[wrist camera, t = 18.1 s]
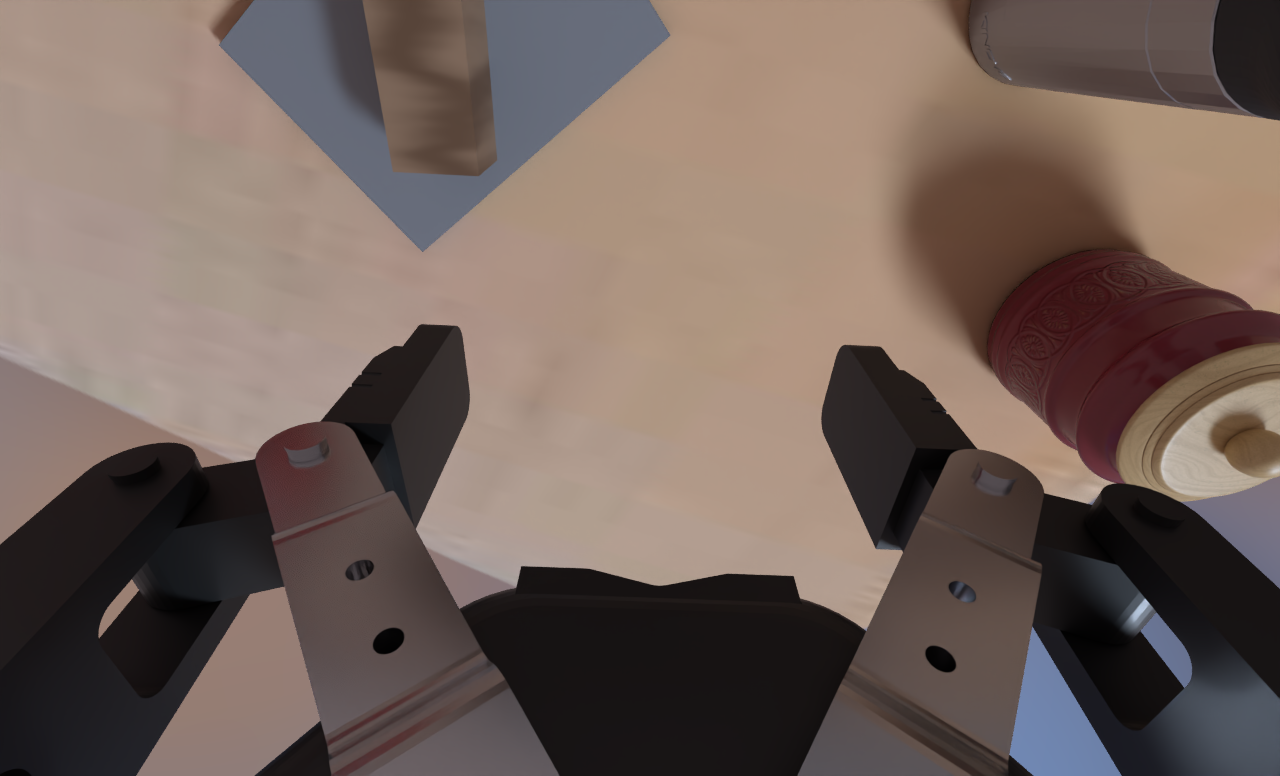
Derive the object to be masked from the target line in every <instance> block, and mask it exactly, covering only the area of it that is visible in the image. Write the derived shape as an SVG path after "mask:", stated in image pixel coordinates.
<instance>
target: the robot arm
mask: <svg viewBox="0 0 1280 776" xmlns="http://www.w3.org/2000/svg"><path fill="white" fill-rule="evenodd" d="M969 38H970V42H971V46H972V50H973V53H974V55H975V57H976V59H977V61H978V63H979V65H980V66H981V67H982V68H983V69H984V70H985V71H986V72H987V73H988V74H989V75H990V76H991V77H993V78H995V79H997V80H998V81H1000V82H1002V83H1006V84H1011V85H1015V86H1022V87H1029V88H1037V89H1045V90H1050V91H1057V92H1065V93H1073V94H1080V95H1088V96H1096V97H1103V98H1111V99H1119V100H1127V101H1134V102H1142V103H1150V104H1157V105H1165V106H1173V107H1181V108H1188V109H1197V110H1206V111H1214V112H1221V113H1229V114H1237V115H1244V116H1252V117H1259V118H1267V119H1273V120H1280V0H972V1H971V7H970V13H969ZM469 402H470V391H469V383H468V375H467V368H466V360H465V352H464V345H463V338H462V333H461V330H460V328H459V327H458V326H448V325H426V324H421V325H419V326H418V327H417V329H416V330H415V331H414V333H413V334H412V335H411V336H410V338H409V339H408V340H407V342H406V343H405V344H404V346H393V347H392V348H390V349H388V350H386V351H385V352H383V353H381V354H379V355H378V356H376V357H374V358H373V359H372V360H371V362H370V363H369V364H368V365H367V366H366V368H365V369H364V370H363V371H362V375H359V376H358V377H357V378H356V380H355V381H354V382H353V383H352V387H349V388H348V389H347V390H346V391H345V393H344V394H343V395H342V396H341V397H340V399H339V400H338V401H337V402H336V403H335V405H334V406H333V407H332V408H331V409H330V411H329V412H328V413H327V414H326V415H325V417H324V418H323V419H322V420H321V421H320V422H313V423H306V424H302V425H298V426H295V427H292V428H289V429H287V430H285V431H282V432H281V433H279V434H277V435H275V436H273V437H272V438H271V439H269V440H268V441H267V442H265V443H264V444H263V445H262V447H261V448H260V449H259V450H258V452H257V454H256V458H255V459H254V460H248V461H242V462H236V463H229V464H223V465H217V466H210V467H204V468H202V467H201V465H200V463H199V461H198V459H197V457H196V454H195V452H194V451H193V450H192V449H191V448H190V447H188V446H185V445H183V444H178V443H156V444H149V445H144V446H140V447H136V448H132V449H129V450H126V451H123V452H121V453H118V454H116V455H113V456H111V457H109V458H107V459H105V460H103V461H101V462H100V463H98V464H96V465H95V466H93V467H92V468H90V469H89V470H88V471H86V472H85V473H84V474H83V475H82V476H80V477H79V478H78V479H77V480H76V481H75V482H73V483H72V484H71V485H70V486H69V487H67V488H66V489H65V490H64V491H63V492H62V493H61V494H59V495H58V496H57V497H56V498H55V499H53V500H52V501H51V502H50V503H49V504H48V505H46V506H45V507H44V508H43V509H42V510H40V511H39V512H38V513H37V514H36V515H35V516H33V517H32V518H31V519H30V520H29V521H27V522H26V523H25V524H24V525H23V526H22V527H20V528H19V529H18V530H17V531H16V532H15V533H14V534H12V535H11V536H10V537H9V538H7V539H6V540H5V541H4V542H3V543H2V544H1V545H0V776H136V775H137V773H138V772H139V770H140V769H141V767H142V765H143V764H144V762H145V761H146V759H147V757H148V756H149V754H150V753H151V751H152V749H153V748H154V746H155V745H156V743H157V741H158V740H159V738H160V737H161V735H162V733H163V732H164V730H165V729H166V727H167V725H168V724H169V722H170V721H171V719H172V718H173V716H174V714H175V713H176V711H177V709H178V708H179V706H180V705H181V703H182V701H183V700H184V698H185V697H186V695H187V694H188V692H189V690H190V689H191V687H192V686H193V684H194V682H195V681H196V679H197V677H198V676H199V674H200V673H201V671H202V670H203V668H204V666H205V665H206V663H207V662H208V660H209V658H210V657H211V655H212V654H213V652H214V651H215V649H216V647H217V645H218V644H219V643H220V641H221V639H222V638H223V636H224V635H225V633H226V631H227V630H228V628H229V627H230V625H231V623H232V622H233V620H234V619H235V617H236V616H237V614H238V612H239V611H240V609H241V607H242V606H243V604H244V603H245V601H246V600H247V598H248V596H249V595H250V594H252V593H257V592H261V591H266V590H270V589H274V588H279V587H284V586H285V590H286V594H287V597H288V601H289V605H290V608H291V612H292V616H293V619H294V623H295V627H296V631H297V635H298V638H299V642H300V646H301V649H302V653H303V657H304V660H305V664H306V668H307V672H308V675H309V679H310V683H311V686H312V690H313V694H314V697H315V701H316V705H317V709H318V713H319V716H320V720H321V721H320V722H318V723H317V724H316V725H315V726H314V727H312V728H311V729H310V730H309V731H308V732H306V733H305V734H304V735H303V736H302V737H300V738H299V739H298V740H297V741H296V742H295V743H293V744H292V745H291V746H290V747H288V748H287V749H286V750H285V751H284V752H282V753H281V754H280V755H279V756H278V757H276V758H275V759H274V760H273V761H272V762H270V763H269V764H268V765H267V766H266V767H264V768H263V769H262V770H261V771H260V772H258V773H257V774H256V775H255V776H1033V775H1032V774H1031V773H1030V772H1028V771H1027V770H1026V769H1025V768H1024V767H1023V766H1022V765H1020V764H1019V763H1018V762H1017V761H1016V760H1015V759H1014V758H1012V757H1011V756H1010V755H1009V753H1010V747H1011V741H1012V736H1013V731H1014V725H1015V719H1016V714H1017V708H1018V702H1019V697H1020V692H1021V686H1022V679H1023V675H1024V669H1025V663H1026V658H1027V652H1028V646H1029V641H1030V635H1031V630H1032V626H1033V628H1034V630H1035V631H1036V633H1037V635H1038V636H1039V638H1040V640H1041V641H1042V643H1043V645H1044V646H1045V648H1046V650H1047V651H1048V653H1049V655H1050V656H1051V658H1052V660H1053V661H1054V663H1055V665H1056V666H1057V668H1058V670H1059V671H1060V673H1061V675H1062V676H1063V678H1064V680H1065V682H1066V683H1067V685H1068V687H1069V688H1070V690H1071V692H1072V693H1073V695H1074V697H1075V698H1076V700H1077V702H1078V703H1079V705H1080V707H1081V708H1082V710H1083V712H1084V713H1085V715H1086V717H1087V718H1088V720H1089V722H1090V723H1091V725H1092V727H1093V728H1094V730H1095V732H1096V733H1097V735H1098V737H1099V738H1100V740H1101V742H1102V743H1103V745H1104V747H1105V748H1106V750H1107V752H1108V754H1109V755H1110V757H1111V759H1112V760H1113V762H1114V764H1115V765H1116V767H1117V769H1118V770H1119V772H1120V773H1121V775H1122V776H1280V589H1279V588H1278V587H1277V586H1276V585H1275V584H1274V583H1273V582H1272V581H1271V580H1270V579H1269V578H1267V577H1266V576H1265V575H1264V574H1263V573H1262V572H1261V571H1260V570H1259V569H1258V568H1256V567H1255V566H1254V565H1253V564H1252V563H1251V562H1250V561H1249V560H1248V559H1247V558H1246V557H1245V556H1244V555H1242V554H1241V553H1240V552H1239V551H1238V550H1237V549H1236V548H1235V547H1234V546H1233V545H1232V544H1231V543H1229V542H1228V541H1227V540H1226V539H1225V538H1224V537H1223V536H1222V535H1221V534H1220V533H1219V532H1217V531H1216V530H1215V529H1214V528H1213V527H1212V526H1211V525H1210V524H1209V523H1207V521H1205V520H1204V519H1203V518H1202V517H1201V516H1200V515H1198V514H1197V513H1196V512H1195V511H1193V510H1192V509H1190V508H1189V507H1187V506H1186V505H1184V504H1183V503H1181V502H1179V501H1177V500H1175V499H1173V498H1171V497H1169V496H1167V495H1165V494H1162V493H1160V492H1157V491H1155V490H1152V489H1149V488H1145V487H1142V486H1137V485H1133V484H1123V483H1117V484H1111V485H1108V486H1106V487H1104V488H1103V490H1102V491H1101V493H1100V494H1099V496H1098V497H1097V499H1096V500H1095V502H1094V503H1093V505H1090V504H1086V503H1082V502H1078V501H1074V500H1069V499H1065V498H1061V497H1057V496H1053V495H1049V494H1045V493H1044V489H1043V486H1042V484H1041V483H1040V481H1039V480H1038V479H1037V477H1036V476H1035V475H1034V474H1033V473H1031V472H1030V471H1029V470H1028V469H1026V468H1025V467H1024V466H1022V465H1020V464H1019V463H1017V462H1015V461H1013V460H1011V459H1009V458H1007V457H1005V456H1002V455H1000V454H997V453H994V452H990V451H985V450H979V449H977V448H976V447H975V446H974V444H973V443H972V442H971V441H970V439H969V438H968V437H967V436H966V435H965V433H964V432H963V431H962V430H961V428H960V427H959V426H958V425H957V423H956V422H955V421H954V420H953V419H952V417H951V416H950V415H949V414H946V410H945V409H944V408H943V406H942V405H941V404H940V403H939V402H936V398H935V396H934V395H933V394H932V393H931V392H930V390H929V389H928V388H927V387H926V385H925V384H924V383H922V382H921V381H919V380H918V379H916V378H915V377H913V376H912V375H910V374H909V373H907V372H906V371H904V370H899V369H898V368H897V367H896V365H895V364H894V363H893V361H892V360H891V359H890V358H889V356H888V355H887V354H886V352H885V351H884V350H883V349H882V348H881V347H878V346H857V345H843V346H842V347H841V348H840V349H839V351H838V353H837V356H836V360H835V363H834V367H833V371H832V374H831V378H830V382H829V385H828V389H827V393H826V396H825V400H824V404H823V408H822V419H821V420H822V430H823V434H824V436H825V439H826V441H827V443H828V445H829V447H830V449H831V452H832V454H833V456H834V458H835V460H836V463H837V465H838V467H839V469H840V471H841V473H842V476H843V478H844V480H845V482H846V484H847V487H848V489H849V491H850V493H851V495H852V498H853V500H854V502H855V504H856V506H857V508H858V511H859V513H860V515H861V517H862V519H863V522H864V524H865V526H866V528H867V530H868V532H869V535H870V537H871V539H872V541H873V543H874V546H875V548H876V549H890V550H902V551H903V554H902V556H901V558H900V560H899V563H898V565H897V567H896V569H895V571H894V573H893V575H892V577H891V580H890V582H889V584H888V586H887V588H886V590H885V592H884V594H883V597H882V599H881V601H880V603H879V605H878V607H877V609H876V611H875V614H874V616H873V618H872V620H871V622H870V624H869V626H868V628H867V631H865V630H864V629H863V628H861V627H860V626H858V625H857V624H856V623H854V622H852V621H851V620H849V619H847V618H846V617H844V616H842V615H841V614H839V613H837V612H834V611H832V610H830V609H828V608H826V607H824V606H821V605H818V604H816V603H813V602H810V601H807V600H803V599H800V597H799V594H798V590H797V587H796V583H795V580H794V576H776V575H748V574H723V575H718V576H713V577H707V578H702V579H697V580H692V581H686V582H681V583H676V584H670V585H664V586H655V585H650V584H646V583H642V582H639V581H635V580H631V579H627V578H623V577H619V576H615V575H611V574H607V573H604V572H600V571H596V570H592V569H583V568H555V567H528V566H521V570H520V575H519V579H518V583H517V588H514V589H509V590H505V591H501V592H498V593H495V594H491V595H488V596H486V597H483V598H481V599H479V600H476V601H474V602H472V603H470V604H468V605H466V606H464V607H462V608H460V609H459V608H458V606H457V604H456V602H455V600H454V598H453V596H452V595H451V593H450V591H449V589H448V587H447V586H446V584H445V582H444V580H443V579H442V577H441V575H440V573H439V571H438V569H437V567H436V565H435V564H434V562H433V560H432V558H431V556H430V555H429V553H428V551H427V549H426V547H425V545H424V544H423V542H422V540H421V538H420V536H419V535H418V533H417V531H416V527H417V525H418V523H419V521H420V519H421V516H422V514H423V512H424V510H425V508H426V505H427V503H428V501H429V499H430V497H431V495H432V492H433V490H434V488H435V486H436V484H437V481H438V479H439V477H440V475H441V473H442V471H443V468H444V466H445V464H446V462H447V460H448V458H449V455H450V453H451V451H452V449H453V447H454V444H455V442H456V440H457V438H458V436H459V434H460V431H461V429H462V427H463V425H464V423H465V420H466V418H467V415H468V410H469ZM131 579H132V580H133V581H134V583H135V584H136V586H137V588H138V589H139V591H138V592H137V594H136V595H135V596H134V597H133V598H132V600H131V601H130V602H129V603H128V604H127V606H126V607H125V608H124V609H123V611H122V612H121V613H120V614H119V615H118V617H117V618H116V619H115V620H114V621H113V622H112V624H111V625H110V626H109V627H108V628H107V630H106V631H105V632H104V633H103V635H102V636H101V637H100V638H99V637H98V631H99V625H100V622H101V619H102V617H103V615H104V613H105V611H106V609H107V607H108V606H109V605H110V604H111V602H112V601H113V600H114V599H115V598H116V596H117V595H118V594H119V593H120V592H121V591H122V590H123V588H124V587H125V586H126V585H127V584H128V583H129V582H130V580H131ZM1156 612H1157V613H1158V614H1159V616H1160V617H1161V618H1162V619H1163V621H1164V622H1165V623H1166V624H1167V625H1168V626H1169V628H1170V629H1171V630H1172V631H1173V633H1174V634H1175V635H1176V636H1177V637H1178V639H1179V640H1180V641H1181V642H1182V644H1183V645H1184V646H1185V648H1186V650H1187V652H1188V654H1189V656H1190V659H1191V663H1192V677H1191V680H1190V682H1189V684H1188V685H1187V686H1186V687H1185V688H1184V687H1183V686H1182V684H1181V683H1180V682H1179V680H1178V679H1177V678H1176V677H1175V675H1174V674H1173V673H1172V671H1171V670H1170V669H1169V668H1168V666H1167V665H1166V664H1165V662H1164V661H1163V660H1162V658H1161V657H1160V656H1159V655H1158V653H1157V652H1156V651H1155V649H1154V648H1153V647H1152V646H1151V644H1150V643H1149V642H1148V640H1147V639H1146V638H1145V637H1144V635H1143V634H1142V633H1141V629H1142V628H1143V627H1144V626H1145V625H1146V624H1147V622H1148V621H1149V620H1150V619H1151V618H1152V617H1153V615H1154V614H1155V613H1156Z"/></svg>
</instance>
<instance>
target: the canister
mask: <svg viewBox="0 0 1280 776" xmlns="http://www.w3.org/2000/svg"><path fill="white" fill-rule="evenodd" d="M987 349H988V357H989V361H990V364H991V366H992V368H993V370H994V372H995V374H996V376H997V378H998V379H999V381H1000V382H1001V384H1002V385H1003V386H1004V387H1005V388H1006V389H1007V390H1008V391H1009V392H1010V393H1011V394H1012V395H1013V396H1014V397H1016V398H1017V399H1019V400H1020V401H1022V402H1024V403H1025V404H1026V405H1027V406H1028V407H1029V408H1030V409H1031V410H1032V411H1033V412H1034V413H1035V414H1036V415H1037V416H1039V417H1040V418H1041V419H1042V420H1043V421H1044V422H1045V423H1046V424H1047V425H1048V426H1049V427H1050V429H1051V431H1052V432H1053V433H1054V435H1055V436H1056V437H1057V438H1058V439H1059V440H1060V441H1062V442H1063V443H1064V444H1066V445H1067V446H1069V447H1071V448H1073V449H1075V450H1077V451H1078V453H1079V456H1080V458H1081V460H1082V461H1083V463H1084V464H1085V465H1086V466H1087V467H1088V468H1089V470H1091V471H1092V472H1093V473H1094V474H1096V475H1098V476H1099V477H1101V478H1103V479H1105V480H1108V481H1110V482H1114V483H1123V484H1133V485H1137V486H1142V487H1145V488H1149V489H1152V490H1155V491H1157V492H1160V493H1162V494H1165V495H1167V496H1169V497H1171V498H1173V499H1175V500H1177V501H1179V502H1181V501H1194V500H1200V499H1206V498H1210V497H1215V496H1223V495H1228V494H1232V493H1236V492H1239V491H1243V490H1246V489H1248V488H1251V487H1254V486H1256V485H1259V484H1261V483H1263V482H1265V481H1267V480H1269V479H1271V478H1274V477H1278V476H1280V314H1277V313H1273V312H1269V311H1263V310H1254V309H1253V308H1252V307H1251V306H1250V305H1249V304H1248V303H1247V302H1245V301H1244V300H1243V299H1241V298H1240V297H1238V296H1236V295H1234V294H1231V293H1229V292H1226V291H1222V290H1218V289H1213V288H1210V287H1208V286H1206V285H1204V284H1201V283H1199V282H1197V281H1194V280H1192V279H1190V278H1188V277H1185V276H1183V275H1181V274H1179V273H1176V272H1174V271H1172V270H1171V269H1169V268H1168V267H1167V266H1166V265H1164V264H1163V263H1161V262H1159V261H1157V260H1154V259H1151V258H1149V257H1147V256H1144V255H1141V254H1138V253H1133V252H1125V251H1119V250H1111V249H1098V250H1089V251H1084V252H1079V253H1076V254H1072V255H1069V256H1066V257H1064V258H1062V259H1059V260H1057V261H1055V262H1053V263H1051V264H1049V265H1047V266H1045V267H1044V268H1042V269H1040V270H1039V271H1037V272H1036V273H1034V274H1033V275H1032V276H1030V277H1029V278H1028V279H1026V280H1025V281H1024V282H1023V283H1022V284H1021V285H1020V286H1019V287H1018V288H1017V289H1016V290H1015V291H1014V292H1013V293H1012V294H1011V295H1010V296H1009V297H1008V299H1007V300H1006V301H1005V302H1004V304H1003V305H1002V307H1001V308H1000V310H999V311H998V313H997V315H996V317H995V319H994V321H993V324H992V326H991V329H990V333H989V337H988V348H987Z"/></svg>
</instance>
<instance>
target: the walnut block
mask: <svg viewBox="0 0 1280 776" xmlns="http://www.w3.org/2000/svg"><path fill="white" fill-rule="evenodd" d="M362 1H363V6H364V12H365V18H366V23H367V29H368V34H369V40H370V46H371V51H372V57H373V63H374V68H375V74H376V80H377V85H378V91H379V96H380V102H381V108H382V113H383V119H384V125H385V130H386V136H387V141H388V147H389V153H390V158H391V164H392V170H393V172H403V173H423V174H443V175H463V176H480V175H481V174H482V173H483V172H484V171H485V170H487V169H488V168H489V167H490V166H491V165H492V164H494V163H495V162H496V161H497V152H496V139H495V127H494V115H493V103H492V91H491V79H490V67H489V55H488V42H487V30H486V18H485V6H484V0H362Z"/></svg>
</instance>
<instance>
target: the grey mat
mask: <svg viewBox="0 0 1280 776" xmlns="http://www.w3.org/2000/svg"><path fill="white" fill-rule="evenodd" d="M484 6H485V18H486V30H487V42H488V55H489V67H490V79H491V91H492V103H493V115H494V127H495V139H496V152H497V161H496V162H495V163H494V164H492V165H491V166H490V167H489V168H488V169H487V170H485V171H484V172H483V173H482V174H481V175H480V176H463V175H443V174H423V173H403V172H393V170H392V164H391V158H390V153H389V147H388V141H387V136H386V130H385V125H384V119H383V113H382V108H381V102H380V96H379V91H378V85H377V80H376V74H375V68H374V63H373V57H372V51H371V46H370V40H369V34H368V29H367V23H366V18H365V12H364V6H363V1H362V0H254V1H253V2H252V4H251V5H250V6H249V7H248V9H247V10H246V11H245V12H244V14H243V15H242V16H241V18H240V19H239V20H238V21H237V23H236V24H235V25H234V26H233V28H232V29H231V30H230V32H229V33H228V34H227V35H226V37H225V38H224V39H223V40H222V42H221V43H220V44H219V46H220V47H221V48H222V49H223V50H224V51H225V52H226V53H227V54H228V55H229V56H230V57H231V58H232V59H233V60H234V61H235V62H236V63H237V64H238V65H239V66H240V67H241V68H242V69H243V70H244V71H245V72H246V73H247V74H248V75H249V76H250V77H251V78H252V79H253V80H254V81H255V82H256V83H257V84H258V85H259V86H260V87H261V88H262V89H263V90H264V91H265V92H266V93H267V95H268V96H269V97H270V98H271V99H272V100H273V101H274V102H275V103H276V104H277V105H278V106H279V107H280V108H281V109H282V110H283V111H284V112H285V113H286V114H287V115H288V116H289V117H290V118H291V119H292V120H293V121H294V122H295V123H296V124H297V125H298V126H299V127H300V128H301V129H302V130H303V131H304V132H305V133H306V134H307V135H308V136H309V137H310V138H311V139H312V140H313V141H314V142H315V143H316V144H317V145H318V146H319V147H320V148H321V149H322V150H323V151H324V152H325V153H326V154H327V155H328V156H329V157H330V158H331V160H332V161H333V162H334V163H335V164H336V165H337V166H338V167H339V168H340V169H341V170H342V171H343V172H344V173H345V174H346V175H347V176H348V177H349V178H350V179H351V180H352V181H353V182H354V183H355V184H356V185H357V186H358V187H359V188H360V189H361V190H362V191H363V192H364V193H365V194H366V195H367V196H368V197H369V198H370V199H371V200H372V201H373V202H374V203H375V204H376V205H377V206H378V207H379V208H380V209H381V210H382V211H383V212H384V213H385V214H386V215H387V216H388V217H389V218H390V219H391V220H392V221H393V222H394V223H395V224H396V226H397V227H398V228H399V229H400V230H401V231H402V232H403V233H404V234H405V235H406V236H407V237H408V238H409V239H410V240H411V241H412V242H413V243H414V244H415V245H416V246H417V247H418V248H419V249H420V250H421V251H422V252H423V251H424V250H425V249H427V248H428V247H429V246H430V245H431V244H432V243H433V242H435V241H436V240H437V239H438V238H439V237H440V236H441V235H443V234H444V233H445V232H446V231H447V230H448V229H449V228H451V227H452V226H453V225H454V224H455V223H456V222H457V221H459V220H460V219H461V218H462V217H463V216H464V215H465V214H467V213H468V212H469V211H470V210H471V209H472V208H473V207H475V206H476V205H477V204H478V203H479V202H480V201H481V200H483V199H484V198H485V197H486V196H487V195H488V194H489V193H491V192H492V191H493V190H494V189H495V188H496V187H497V186H499V185H500V184H501V183H502V182H503V181H504V180H505V179H507V178H508V177H509V176H510V175H511V174H512V173H513V172H515V171H516V170H517V169H518V168H519V167H520V166H522V165H523V164H524V163H525V162H526V161H527V160H528V159H530V158H531V157H532V156H533V155H534V154H535V153H536V152H538V151H539V150H540V149H541V148H542V147H543V146H544V145H546V144H547V143H548V142H549V141H550V140H551V139H552V138H554V137H555V136H556V135H557V134H558V133H559V132H560V131H562V130H563V129H564V128H565V127H566V126H567V125H568V124H570V123H571V122H572V121H573V120H574V119H575V118H576V117H578V116H579V115H580V114H581V113H582V112H583V111H584V110H586V109H587V108H588V107H589V106H590V105H591V104H592V103H594V102H595V101H596V100H597V99H598V98H599V97H600V96H602V95H603V94H604V93H605V92H606V91H607V90H608V89H610V88H611V87H612V86H613V85H614V84H615V83H616V82H618V81H619V80H620V79H621V78H622V77H623V76H624V75H626V74H627V73H628V72H629V71H630V70H631V69H632V68H634V67H635V66H636V65H637V64H638V63H639V62H640V61H642V60H643V59H644V58H645V57H646V56H647V55H649V54H650V53H651V52H652V51H653V50H654V49H655V48H657V47H658V46H659V45H660V44H661V43H662V42H663V41H665V40H666V39H667V38H668V37H669V36H670V34H669V32H668V31H667V29H666V27H665V26H664V24H663V22H662V21H661V19H660V18H659V16H658V14H657V13H656V11H655V9H654V8H653V6H652V5H651V3H650V1H649V0H484Z"/></svg>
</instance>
